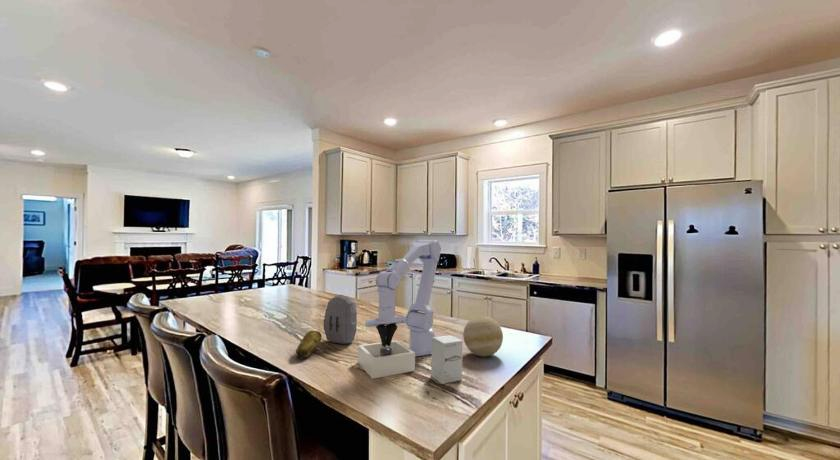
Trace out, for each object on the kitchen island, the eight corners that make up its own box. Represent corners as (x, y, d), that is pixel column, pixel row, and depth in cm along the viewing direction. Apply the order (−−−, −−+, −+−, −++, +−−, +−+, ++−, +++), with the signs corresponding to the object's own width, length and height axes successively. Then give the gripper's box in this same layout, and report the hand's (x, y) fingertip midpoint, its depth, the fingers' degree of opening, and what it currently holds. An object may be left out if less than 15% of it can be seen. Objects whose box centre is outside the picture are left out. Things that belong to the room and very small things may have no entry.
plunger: (394, 355, 125) (394, 342, 125) (407, 366, 115) (407, 351, 115) (364, 360, 119) (365, 346, 119) (375, 372, 109) (376, 356, 110)
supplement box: (442, 385, 103) (443, 343, 104) (430, 375, 110) (431, 336, 110) (462, 380, 107) (463, 340, 107) (449, 372, 113) (450, 334, 114)
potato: (286, 357, 123) (286, 335, 123) (311, 347, 135) (312, 327, 135) (303, 362, 119) (304, 339, 120) (328, 351, 131) (328, 330, 131)
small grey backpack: (359, 342, 142) (360, 295, 143) (347, 348, 135) (349, 298, 135) (330, 337, 148) (332, 291, 149) (317, 343, 141) (319, 294, 141)
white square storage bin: (396, 356, 127) (397, 340, 127) (414, 370, 114) (415, 352, 114) (357, 362, 120) (358, 345, 120) (372, 378, 107) (372, 359, 107)
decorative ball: (483, 365, 120) (484, 323, 120) (454, 353, 132) (455, 314, 132) (510, 357, 129) (511, 317, 129) (481, 346, 141) (482, 310, 141)
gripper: (401, 302, 124) (400, 340, 124) (363, 305, 118) (362, 345, 117) (409, 306, 118) (408, 345, 118) (369, 309, 111) (368, 351, 111)
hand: (386, 345), depth 117 cm, fingers closed
